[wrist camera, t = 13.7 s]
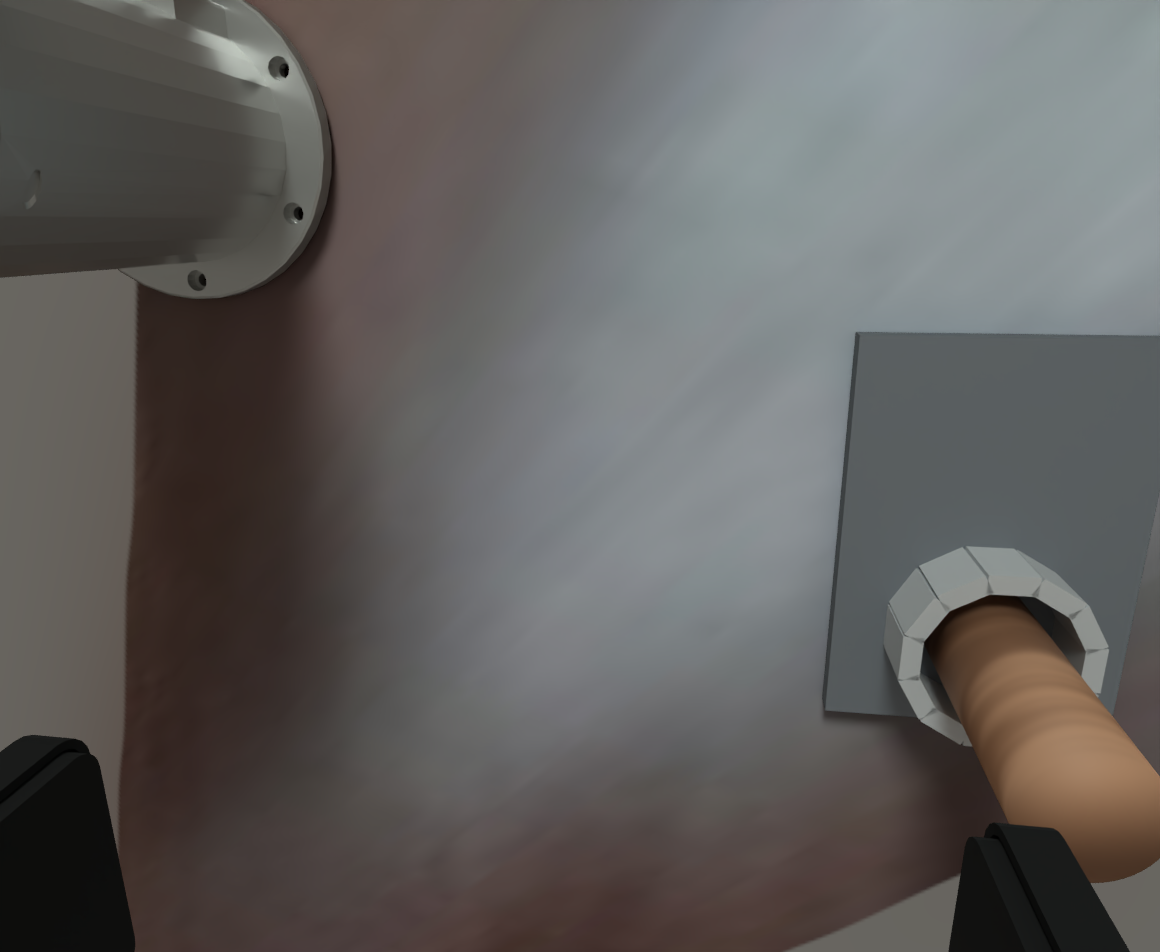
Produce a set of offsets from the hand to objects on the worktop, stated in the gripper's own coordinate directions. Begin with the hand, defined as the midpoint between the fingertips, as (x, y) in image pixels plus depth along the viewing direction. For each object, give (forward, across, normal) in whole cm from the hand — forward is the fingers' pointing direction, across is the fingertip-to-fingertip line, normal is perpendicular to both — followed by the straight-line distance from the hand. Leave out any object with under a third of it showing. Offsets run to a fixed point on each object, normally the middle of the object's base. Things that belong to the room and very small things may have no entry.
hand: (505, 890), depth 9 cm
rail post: (+27, -14, +10) cm, 32 cm away
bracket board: (+28, -14, +6) cm, 32 cm away
